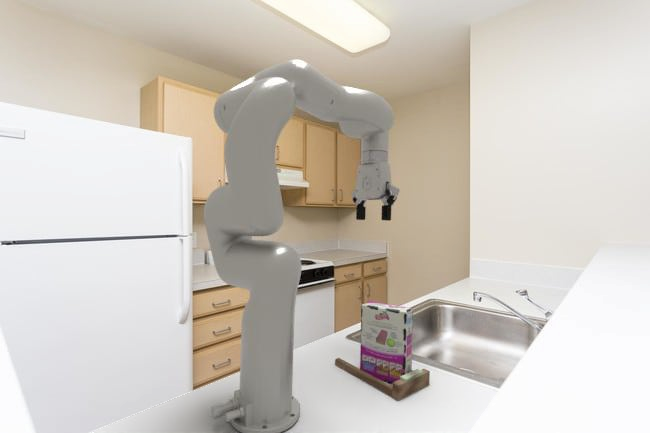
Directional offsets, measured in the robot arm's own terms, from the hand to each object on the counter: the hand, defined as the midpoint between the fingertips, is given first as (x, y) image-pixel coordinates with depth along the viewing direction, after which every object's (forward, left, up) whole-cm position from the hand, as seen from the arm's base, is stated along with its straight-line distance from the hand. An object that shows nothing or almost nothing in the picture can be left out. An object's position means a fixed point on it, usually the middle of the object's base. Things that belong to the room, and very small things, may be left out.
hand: (372, 220), depth 91 cm
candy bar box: (-9, -13, -36) cm, 40 cm away
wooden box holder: (-9, -12, -36) cm, 39 cm away
